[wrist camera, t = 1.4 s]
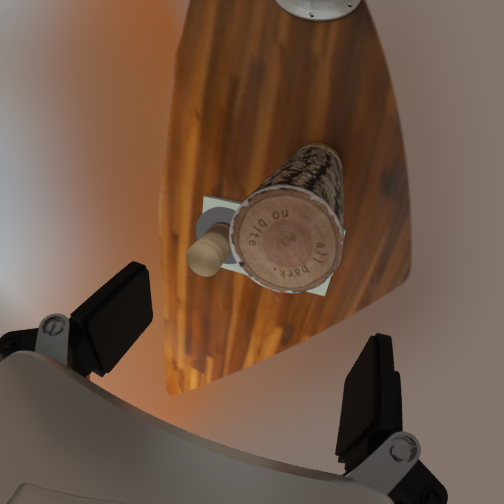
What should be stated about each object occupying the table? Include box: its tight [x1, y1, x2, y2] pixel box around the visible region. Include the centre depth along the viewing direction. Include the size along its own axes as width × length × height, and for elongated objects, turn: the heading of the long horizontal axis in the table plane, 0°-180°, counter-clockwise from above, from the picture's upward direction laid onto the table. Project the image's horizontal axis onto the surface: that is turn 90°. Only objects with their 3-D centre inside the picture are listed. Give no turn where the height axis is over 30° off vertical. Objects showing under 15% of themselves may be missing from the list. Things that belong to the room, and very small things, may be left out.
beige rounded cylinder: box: [186, 222, 232, 277], centre depth 42 cm, size 5×5×8 cm
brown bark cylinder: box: [229, 143, 344, 293], centre depth 27 cm, size 7×7×25 cm
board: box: [196, 195, 346, 296], centre depth 45 cm, size 12×23×1 cm, turn 82°
